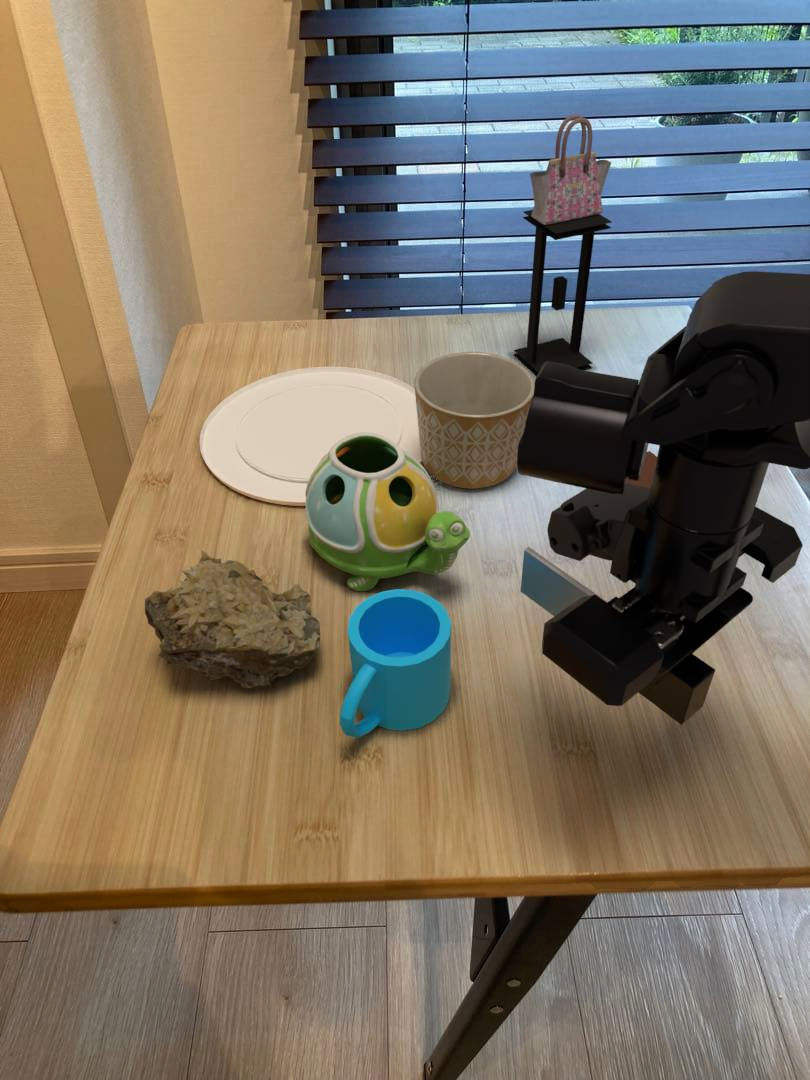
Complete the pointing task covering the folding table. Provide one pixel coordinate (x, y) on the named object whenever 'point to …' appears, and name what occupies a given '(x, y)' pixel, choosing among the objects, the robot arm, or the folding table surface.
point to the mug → (397, 662)
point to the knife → (559, 590)
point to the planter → (472, 417)
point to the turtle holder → (378, 513)
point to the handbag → (562, 212)
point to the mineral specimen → (233, 624)
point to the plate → (302, 427)
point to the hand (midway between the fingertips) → (654, 676)
